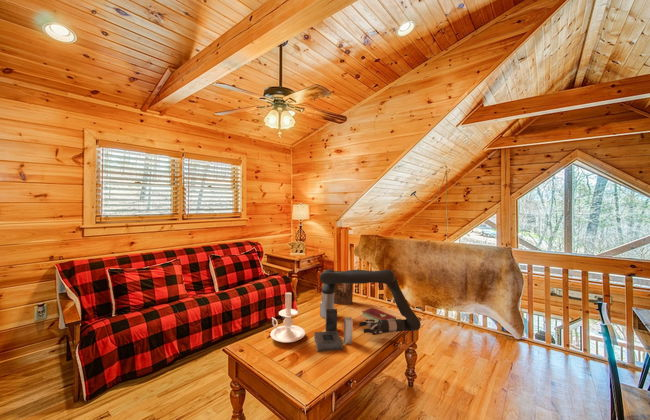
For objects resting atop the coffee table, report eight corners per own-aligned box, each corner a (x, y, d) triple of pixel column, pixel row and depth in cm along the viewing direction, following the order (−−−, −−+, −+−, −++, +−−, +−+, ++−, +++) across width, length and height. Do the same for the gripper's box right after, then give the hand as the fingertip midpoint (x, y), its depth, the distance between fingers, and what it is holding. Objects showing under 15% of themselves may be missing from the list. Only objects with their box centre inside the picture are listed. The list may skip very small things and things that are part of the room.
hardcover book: (372, 312, 204) (372, 306, 204) (395, 322, 188) (396, 316, 188) (361, 316, 197) (361, 310, 196) (385, 327, 181) (385, 321, 180)
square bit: (345, 344, 158) (345, 320, 157) (343, 340, 162) (344, 317, 161) (352, 343, 158) (352, 320, 158) (350, 340, 162) (350, 317, 162)
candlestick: (283, 324, 180) (284, 283, 179) (312, 337, 165) (313, 291, 164) (258, 336, 164) (259, 291, 163) (287, 351, 149) (288, 301, 148)
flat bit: (326, 331, 172) (326, 310, 172) (325, 329, 175) (325, 308, 174) (336, 330, 174) (337, 309, 173) (336, 328, 176) (336, 308, 175)
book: (331, 303, 219) (332, 272, 218) (332, 300, 225) (333, 270, 224) (352, 304, 217) (353, 273, 216) (352, 301, 223) (353, 271, 222)
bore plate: (317, 351, 149) (317, 344, 149) (314, 338, 163) (314, 332, 163) (342, 349, 152) (342, 342, 151) (337, 337, 165) (337, 330, 165)
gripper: (383, 314, 171) (358, 315, 168) (392, 325, 157) (365, 326, 154) (382, 326, 171) (357, 327, 168) (392, 338, 157) (364, 339, 154)
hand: (361, 327), depth 161 cm, fingers open, 8 cm apart
